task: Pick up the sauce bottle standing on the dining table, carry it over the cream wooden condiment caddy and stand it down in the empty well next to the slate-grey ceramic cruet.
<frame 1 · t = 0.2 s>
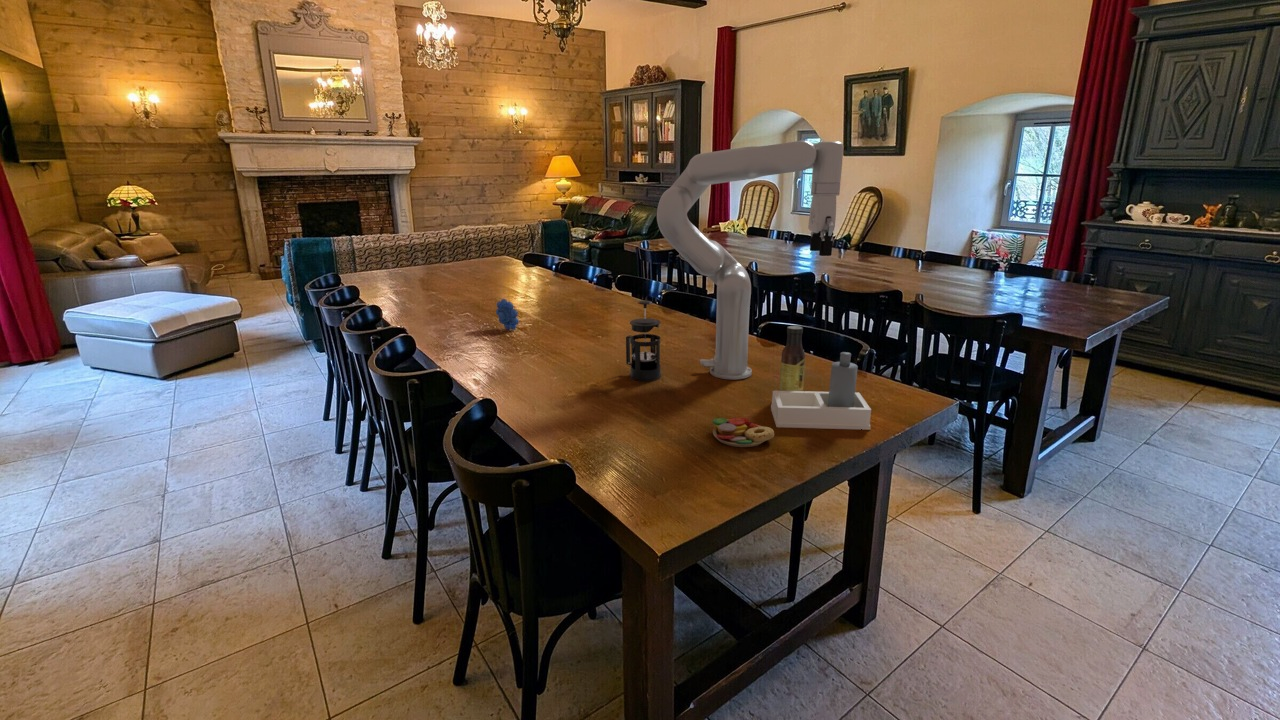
hand: (820, 253, 170), 36 cm above the table, tool pointing down, fingers open, 9 cm apart
french press: (644, 376, 183), on the table
sauce bottle: (790, 399, 164), on the table
condiment caddy: (818, 418, 151), on the table
grapes: (506, 330, 235), on the table
toy food set: (740, 438, 142), on the table
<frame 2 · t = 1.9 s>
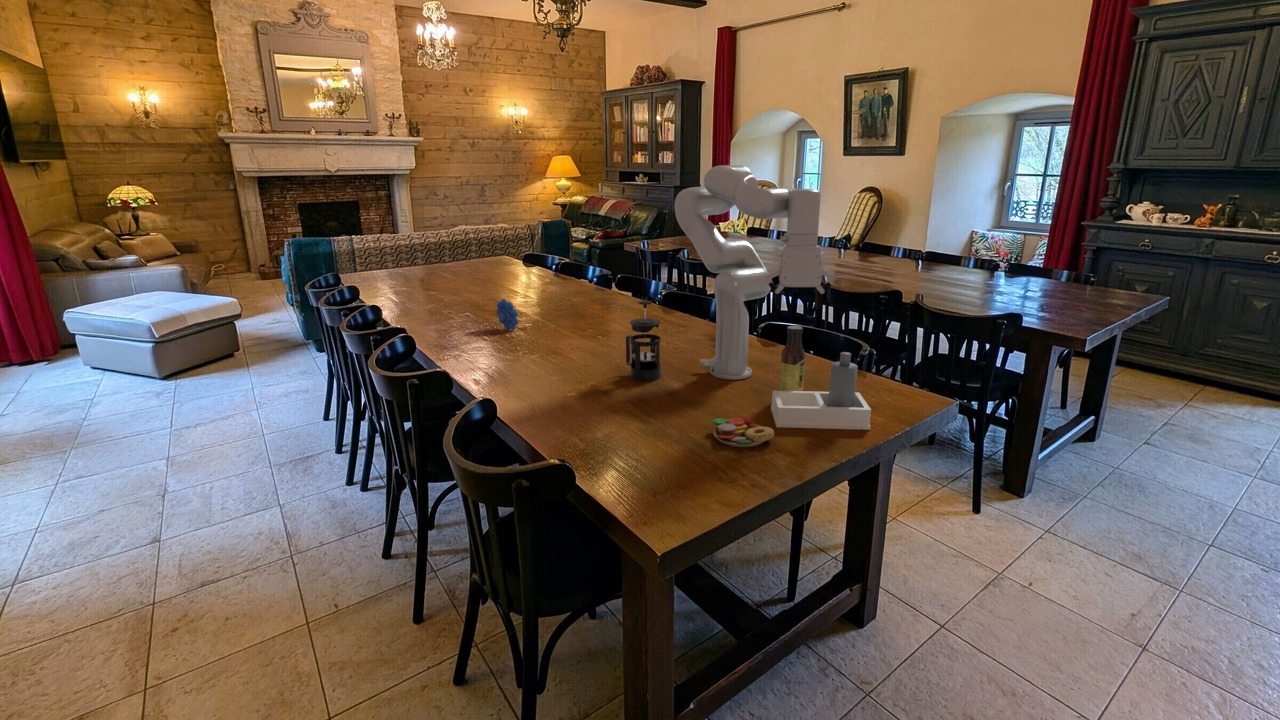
hand: (797, 308, 156), 25 cm above the table, tool pointing down, fingers open, 9 cm apart
nothing on the table moved.
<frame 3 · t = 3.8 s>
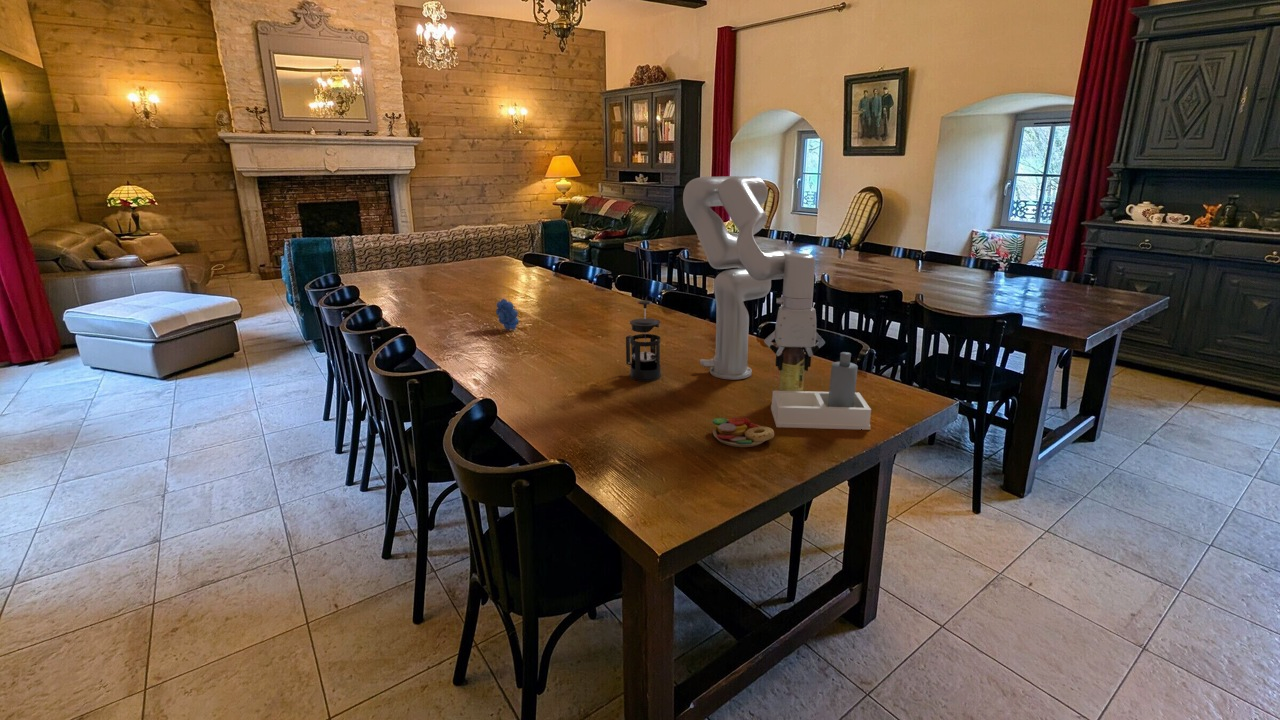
hand: (792, 368, 161), 9 cm above the table, tool pointing down, fingers closed on sauce bottle, 6 cm apart
sauce bottle: (790, 399, 164), on the table, touching gripper
everything else where it was.
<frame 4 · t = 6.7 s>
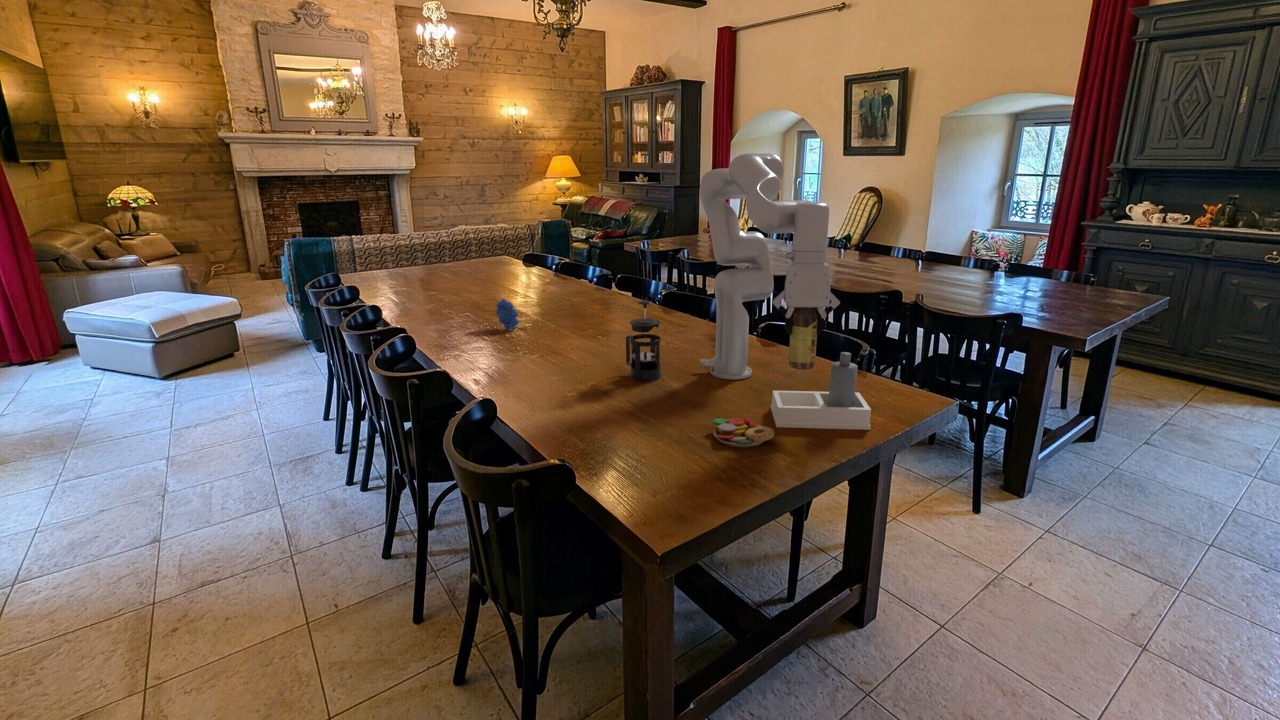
hand: (803, 332, 145), 22 cm above the table, tool pointing down, fingers closed on sauce bottle, 6 cm apart
sauce bottle: (801, 367, 148), point 13 cm above the table, touching gripper
everything else where it was.
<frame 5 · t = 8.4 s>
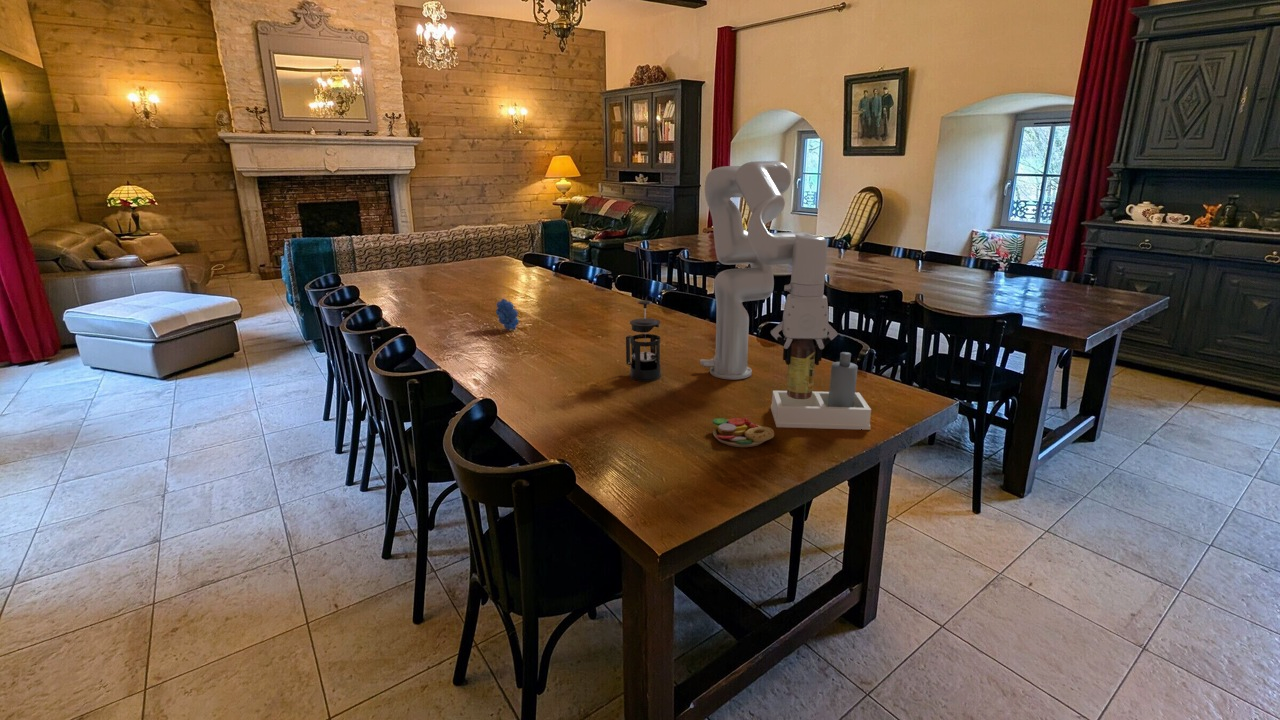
hand: (801, 362, 147), 15 cm above the table, tool pointing down, fingers closed on sauce bottle, 6 cm apart
sauce bottle: (799, 396, 150), point 6 cm above the table, touching gripper
everything else where it was.
when the fingers open (11 cm above the table, at t = 9.8 s): sauce bottle drops 1 cm, resting on condiment caddy.
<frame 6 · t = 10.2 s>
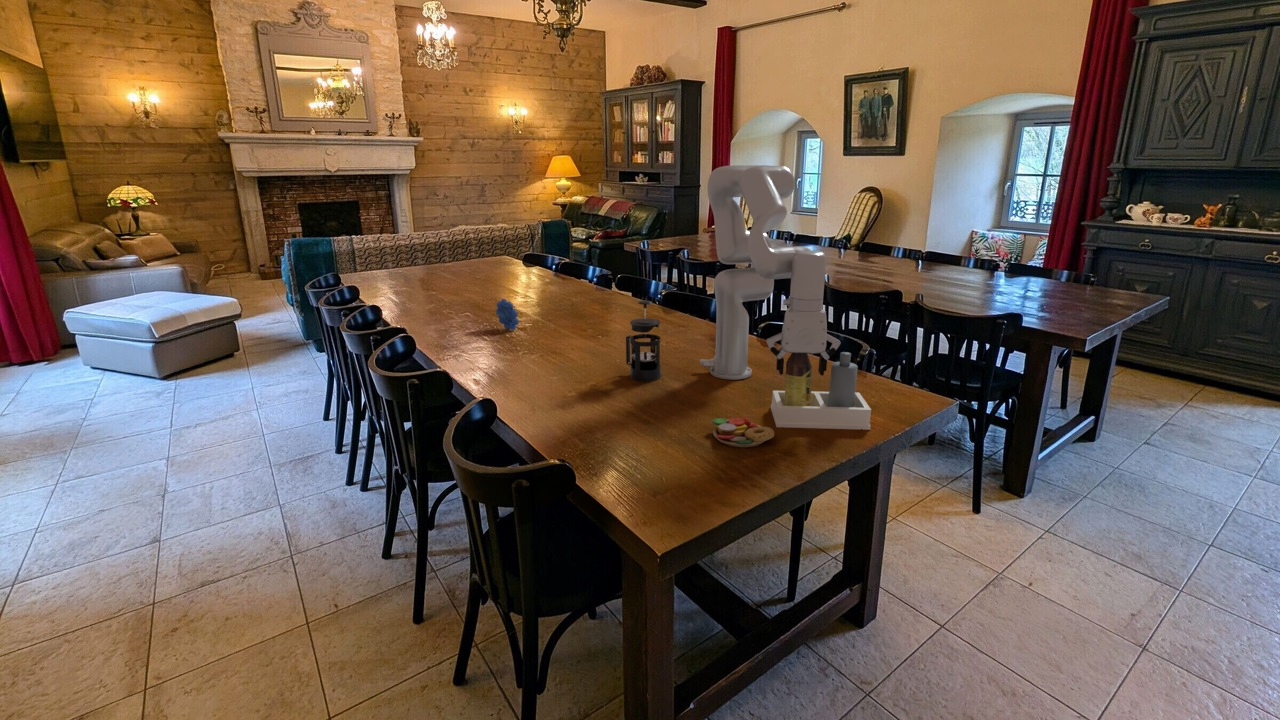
hand: (800, 373, 148), 12 cm above the table, tool pointing down, fingers open, 9 cm apart
sauce bottle: (797, 414, 151), point 1 cm above the table, touching condiment caddy
everything else where it was.
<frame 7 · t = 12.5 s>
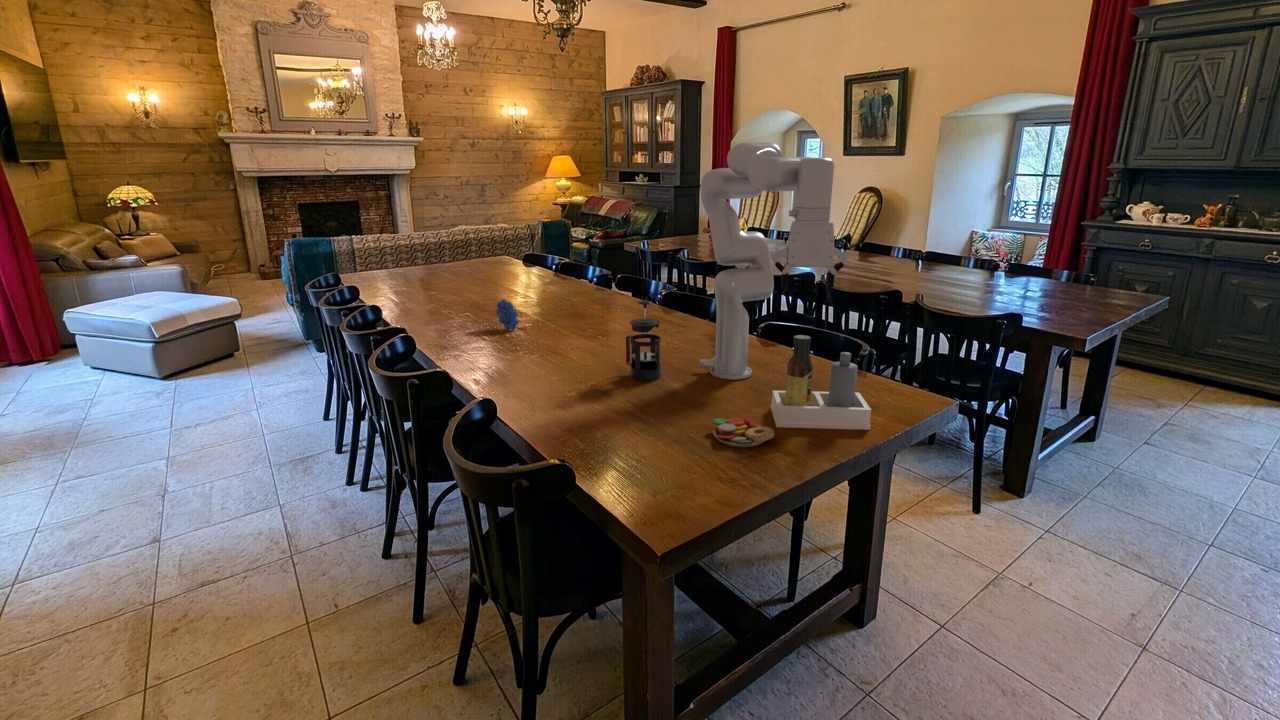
hand: (806, 290, 142), 32 cm above the table, tool pointing down, fingers open, 9 cm apart
nothing on the table moved.
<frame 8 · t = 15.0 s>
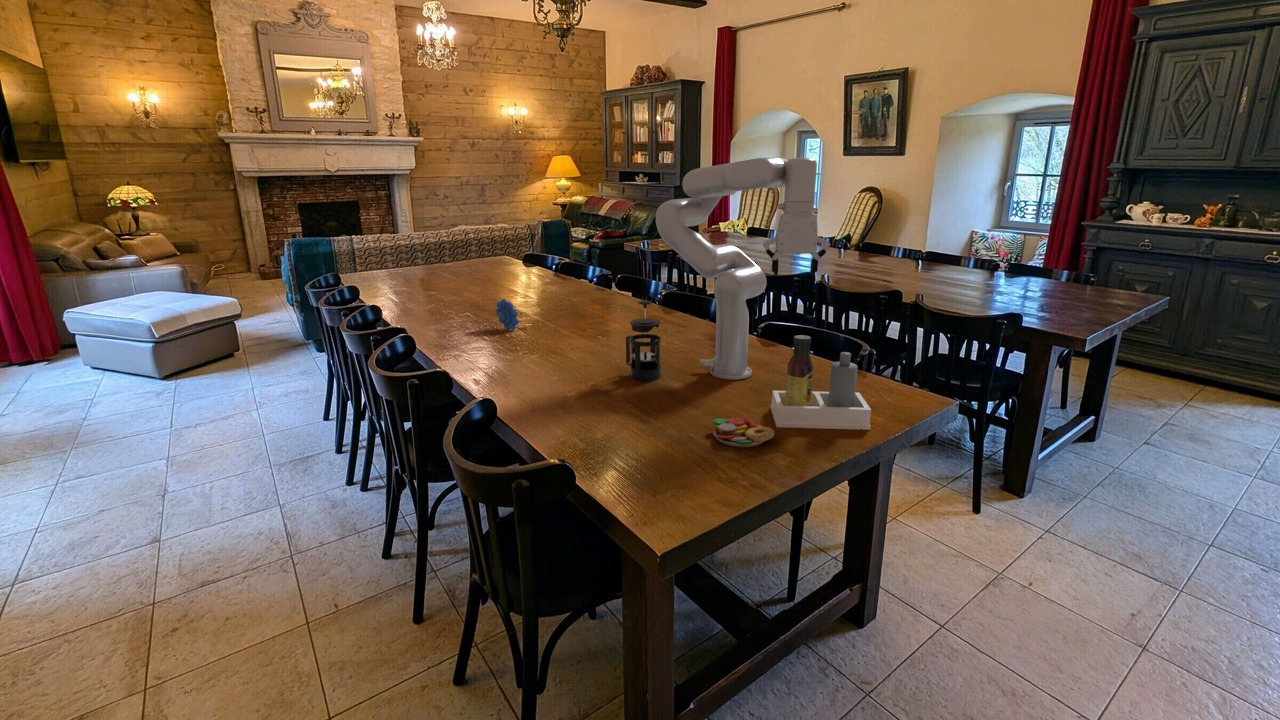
hand: (794, 274, 161), 32 cm above the table, tool pointing down, fingers open, 9 cm apart
nothing on the table moved.
at the end: sauce bottle 0.2 cm from the target spot on the condiment caddy, point 0.8 cm above the condiment caddy's base; sauce bottle tilted 0°; the gripper is holding nothing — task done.
